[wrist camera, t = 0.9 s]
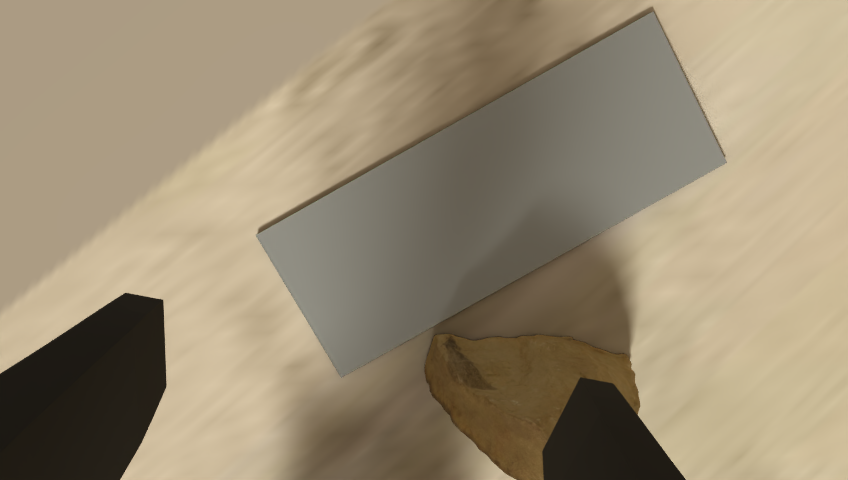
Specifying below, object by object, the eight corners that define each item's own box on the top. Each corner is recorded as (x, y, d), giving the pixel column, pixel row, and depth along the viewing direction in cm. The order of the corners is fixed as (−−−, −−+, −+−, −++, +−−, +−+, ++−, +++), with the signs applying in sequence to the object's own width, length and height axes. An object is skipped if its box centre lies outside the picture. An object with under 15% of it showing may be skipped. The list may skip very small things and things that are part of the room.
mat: (723, 162, 31) (726, 162, 30) (341, 375, 31) (341, 377, 31) (650, 12, 30) (653, 11, 29) (257, 234, 30) (255, 235, 30)
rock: (371, 411, 29) (517, 543, 28) (431, 368, 22) (627, 543, 21) (478, 276, 35) (599, 383, 35) (552, 209, 28) (705, 343, 27)
